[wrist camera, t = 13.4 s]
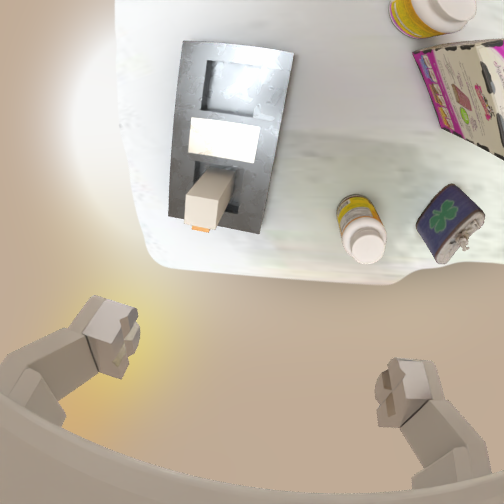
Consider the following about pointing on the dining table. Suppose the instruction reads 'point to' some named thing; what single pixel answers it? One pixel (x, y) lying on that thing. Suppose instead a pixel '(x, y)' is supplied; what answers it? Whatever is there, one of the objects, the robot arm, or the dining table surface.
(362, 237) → the supplement bottle
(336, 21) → the dining table surface
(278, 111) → the panel
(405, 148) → the dining table surface
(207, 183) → the plug
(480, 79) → the candy bar box
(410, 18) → the supplement bottle
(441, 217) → the flask
